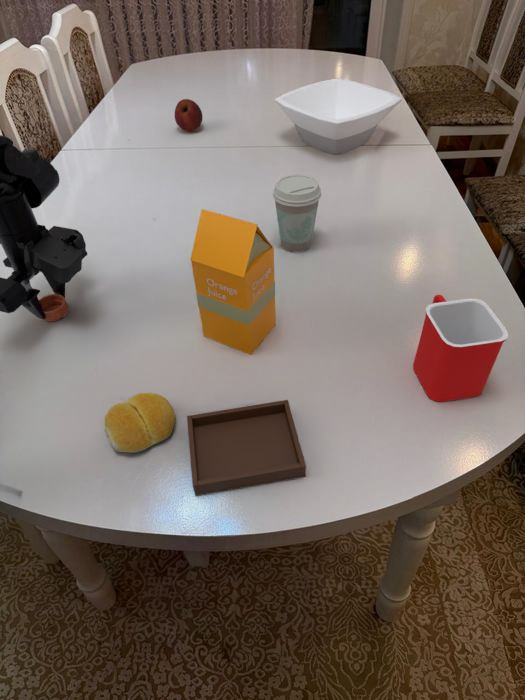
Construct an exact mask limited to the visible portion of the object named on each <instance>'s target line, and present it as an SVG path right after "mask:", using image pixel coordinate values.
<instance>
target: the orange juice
mask: <svg viewBox="0 0 525 700" xmlns="http://www.w3.org/2000/svg"><path fill="white" fill-rule="evenodd" d="M274 248H275V247H274V246H273V245H272V243H271V242H270V241H269V240H268V238H267V237H266V235H265V234H264V233H263V231H262V230H261V229H260V227H259V226H258V224H257V223H255V222H251V221H247V220H243V219H240V218H236V217H232V216H229V215H225V214H221V213H218V212H214V211H211V210H207V209H204V208H201V210H200V215H199V219H198V224H197V228H196V232H195V237H194V242H193V245H192V250H191V256H190V258H189V260H190V263H191V269H192V276H193V281H194V287H195V295H196V300H197V307H198V311H199V317H200V322H201V329H202V334H203V337H205V338H208V339H210V340H212V341H215V342H217V343H220V344H223V345H225V346H227V347H230V348H233V349H235V350H238V351H240V352H243V353H245V354H248V355H250V356H252V355H253V353H255V351H256V350H257V349H258V347H259V346H260V345H261V344H262V342H263V341H264V340H265V339H266V338H267V336H268V335H269V334H270V333H271V332H272V330H273V329H274V328H275V327H276V326H277V323H276V321H277V320H276V281H275V249H274Z"/></svg>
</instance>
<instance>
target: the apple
mask: <svg viewBox="0 0 525 700" xmlns="http://www.w3.org/2000/svg"><path fill="white" fill-rule="evenodd" d="M174 121H175V124H176V125H177V126H178V127H179V128H180V129H181V130H182V131H185V132H187V133H188V132H189V133H190V132H194V131H196V130H198V129H199V128H200V127H201V125H202V123H203V112H202V109H201V108H200V106H199V105H198V103H196V102H195V101H193V100H192V99H189V98H183V99H180V100H179V101H178V102H177V104H176V106H175V109H174Z"/></svg>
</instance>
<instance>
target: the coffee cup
mask: <svg viewBox="0 0 525 700" xmlns="http://www.w3.org/2000/svg"><path fill="white" fill-rule="evenodd" d="M321 197H322V189H321V187H320V184H319V181H318V180H317V179H316V178H315V177H313V176H310V175H307V174H289V175H285V176H282V177H280V178H279V179H278V180H277V181H276V182H275V185H274V188H273V190H272V198H273V199H274V205H275V211H276V218H277V225H278V232H279V233H278V234H279V238H280V245H281V247H282V248H283V249H284V250H286V251H289V252H295V253H297V252H303V251H306V250H309V248H311V246H312V242H313V237H314V232H315V225H316V220H317V215H318V214H317V213H318V208H319V201H320V199H321Z"/></svg>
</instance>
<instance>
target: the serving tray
mask: <svg viewBox="0 0 525 700" xmlns="http://www.w3.org/2000/svg"><path fill="white" fill-rule="evenodd" d="M186 421H187V431H188V432H187V433H188V447H189V457H190V468H191V469H190V470H191V481H192V482H191V483H192V488H193V492H194V495H195V496H197V497H198V496H203V495H210V494H214V493H219V492H226V491H231V490H237V489H243V488H249V487H255V486H259V485H265V484H272V483H277V482H283V481H289V480H293V479H294V480H295V479H300V478H306V476H307V475H306V471H307V465H306V461H305V458H304V454H303V451H302V446H301V443H300V439H299V436H298V432H297V429H296V425H295V421H294V417H293V413H292V410H291V406H290V403H289V399H284V400H277V401H269V402H264V403H259V404H252V405H246V406H240V407H233V408H227V409H220V410H215V411H208V412H203V413H197V414H190V415H187V416H186Z"/></svg>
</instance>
